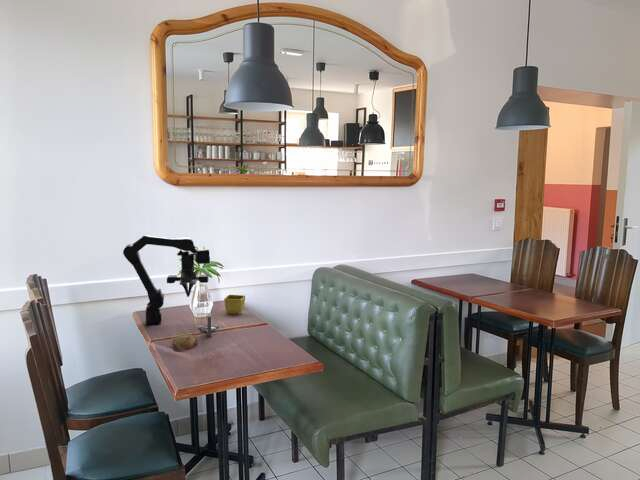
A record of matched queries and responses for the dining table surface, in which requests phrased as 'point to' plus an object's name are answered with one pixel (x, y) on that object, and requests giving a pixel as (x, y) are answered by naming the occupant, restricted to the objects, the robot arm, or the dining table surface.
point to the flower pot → (234, 303)
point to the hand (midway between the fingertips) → (188, 296)
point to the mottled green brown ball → (184, 342)
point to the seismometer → (208, 326)
